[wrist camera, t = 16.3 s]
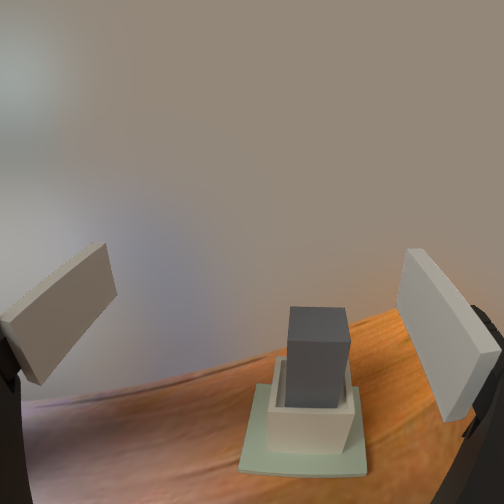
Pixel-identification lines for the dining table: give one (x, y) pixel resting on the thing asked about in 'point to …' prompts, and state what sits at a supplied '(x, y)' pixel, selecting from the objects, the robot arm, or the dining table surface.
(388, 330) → the dining table surface
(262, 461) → the green baseplate
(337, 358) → the charcoal brick
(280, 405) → the cream base brick
